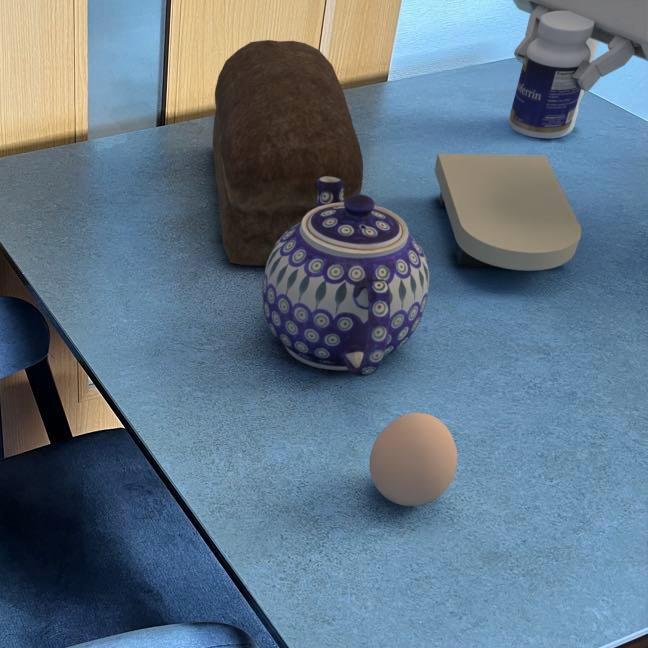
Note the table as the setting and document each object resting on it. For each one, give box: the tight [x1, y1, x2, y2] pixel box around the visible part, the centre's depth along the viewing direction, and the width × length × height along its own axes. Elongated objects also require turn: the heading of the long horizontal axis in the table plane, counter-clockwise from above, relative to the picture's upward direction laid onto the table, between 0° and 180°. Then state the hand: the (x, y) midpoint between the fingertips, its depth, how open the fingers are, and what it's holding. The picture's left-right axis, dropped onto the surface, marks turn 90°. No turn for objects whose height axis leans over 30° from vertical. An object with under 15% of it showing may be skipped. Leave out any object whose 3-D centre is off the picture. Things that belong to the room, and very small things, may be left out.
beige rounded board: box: [434, 153, 582, 272], centre depth 110 cm, size 22×12×5 cm, turn 175°
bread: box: [212, 39, 364, 267], centre depth 114 cm, size 15×32×16 cm, turn 178°
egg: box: [368, 412, 458, 507], centre depth 81 cm, size 7×7×8 cm
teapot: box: [261, 176, 430, 377], centre depth 94 cm, size 25×15×15 cm, turn 179°
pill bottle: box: [508, 11, 594, 139], centre depth 97 cm, size 6×6×10 cm
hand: (549, 72), depth 97 cm, fingers closed on pill bottle, 6 cm apart
